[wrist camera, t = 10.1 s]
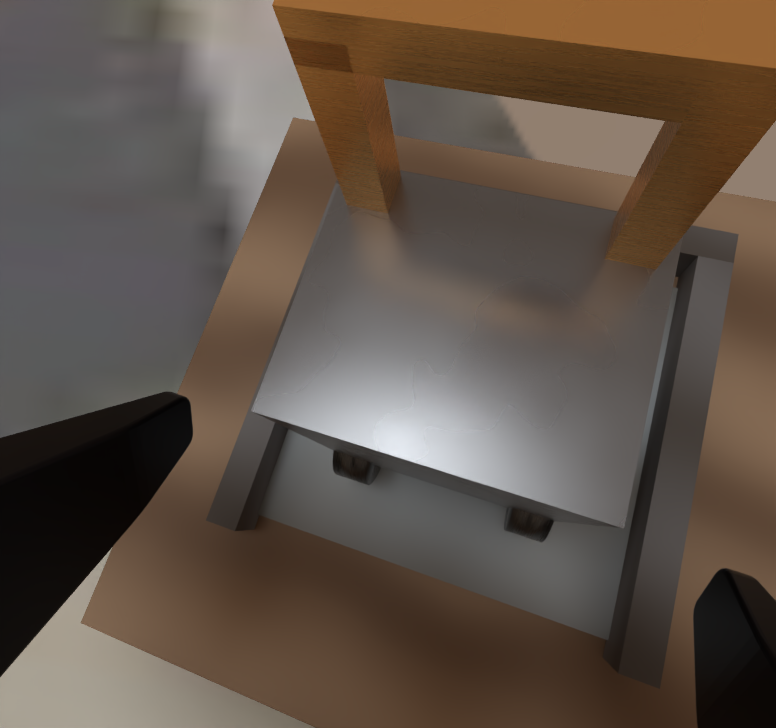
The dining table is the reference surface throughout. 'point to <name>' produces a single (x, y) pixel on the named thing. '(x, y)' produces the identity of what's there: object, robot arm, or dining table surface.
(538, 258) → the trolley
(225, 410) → the dock
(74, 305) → the dining table surface
